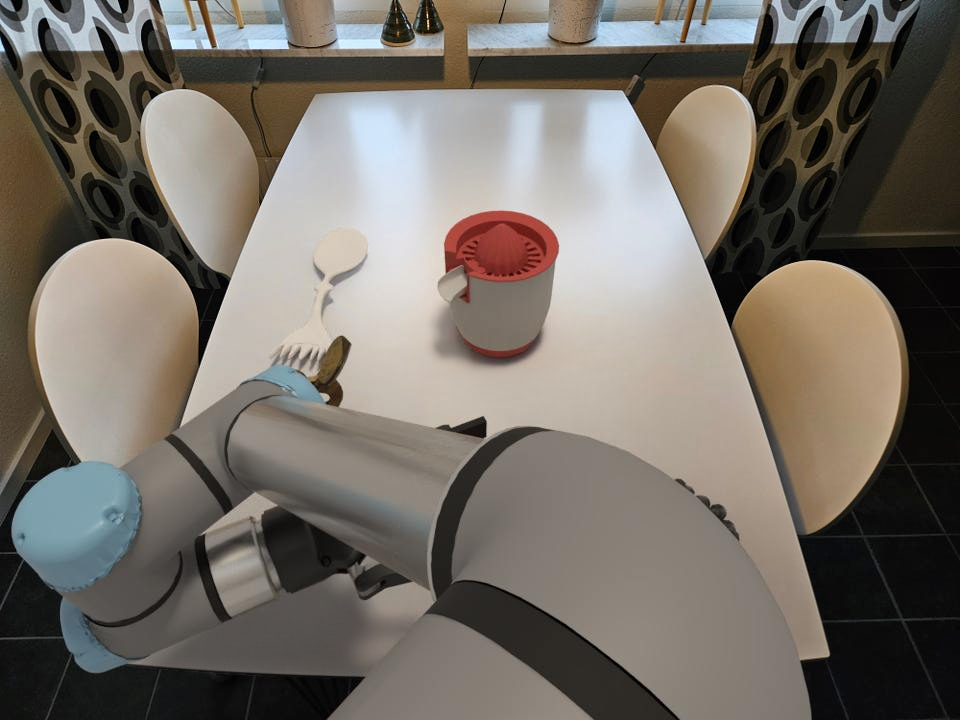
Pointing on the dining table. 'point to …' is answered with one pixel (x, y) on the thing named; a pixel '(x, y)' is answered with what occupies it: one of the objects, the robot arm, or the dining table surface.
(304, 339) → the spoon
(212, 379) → the dining table surface
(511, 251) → the citrus juicer
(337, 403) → the wooden mug
